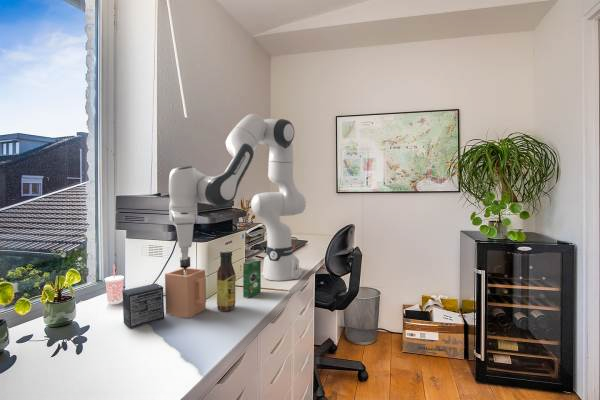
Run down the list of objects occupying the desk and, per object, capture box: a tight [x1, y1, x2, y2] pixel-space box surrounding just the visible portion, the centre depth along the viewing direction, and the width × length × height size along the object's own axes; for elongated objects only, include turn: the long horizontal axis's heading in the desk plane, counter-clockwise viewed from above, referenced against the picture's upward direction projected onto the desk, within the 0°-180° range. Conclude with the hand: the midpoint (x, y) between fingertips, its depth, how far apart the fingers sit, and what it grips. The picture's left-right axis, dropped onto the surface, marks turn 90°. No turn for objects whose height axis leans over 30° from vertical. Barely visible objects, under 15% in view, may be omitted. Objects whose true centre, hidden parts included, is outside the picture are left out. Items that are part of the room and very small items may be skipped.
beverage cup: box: [104, 263, 125, 305], centre depth 120 cm, size 6×6×14 cm
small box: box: [122, 282, 165, 329], centre depth 104 cm, size 11×6×10 cm, turn 134°
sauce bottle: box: [216, 250, 236, 312], centre depth 114 cm, size 7×6×20 cm
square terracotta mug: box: [164, 267, 207, 319], centre depth 111 cm, size 9×12×14 cm
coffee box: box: [242, 259, 262, 299], centre depth 128 cm, size 8×3×13 cm, turn 151°
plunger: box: [179, 256, 191, 276], centre depth 111 cm, size 7×7×17 cm
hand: (184, 255), depth 111 cm, fingers open, 8 cm apart
